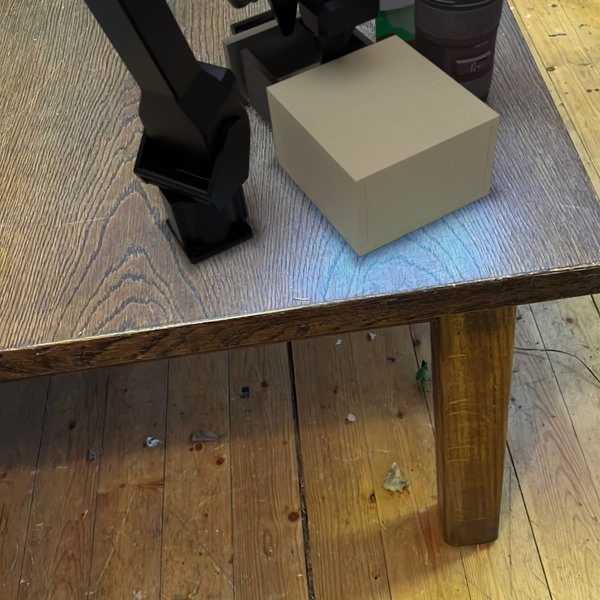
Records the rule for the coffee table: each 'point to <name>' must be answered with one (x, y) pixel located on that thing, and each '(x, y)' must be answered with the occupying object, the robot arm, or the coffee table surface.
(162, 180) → the robot arm
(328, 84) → the tan cardboard box
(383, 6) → the food container
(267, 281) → the coffee table surface
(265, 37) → the dark open box
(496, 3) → the camera lens
